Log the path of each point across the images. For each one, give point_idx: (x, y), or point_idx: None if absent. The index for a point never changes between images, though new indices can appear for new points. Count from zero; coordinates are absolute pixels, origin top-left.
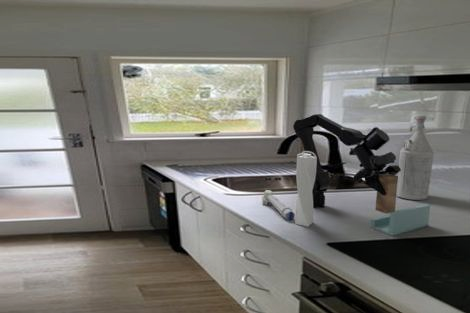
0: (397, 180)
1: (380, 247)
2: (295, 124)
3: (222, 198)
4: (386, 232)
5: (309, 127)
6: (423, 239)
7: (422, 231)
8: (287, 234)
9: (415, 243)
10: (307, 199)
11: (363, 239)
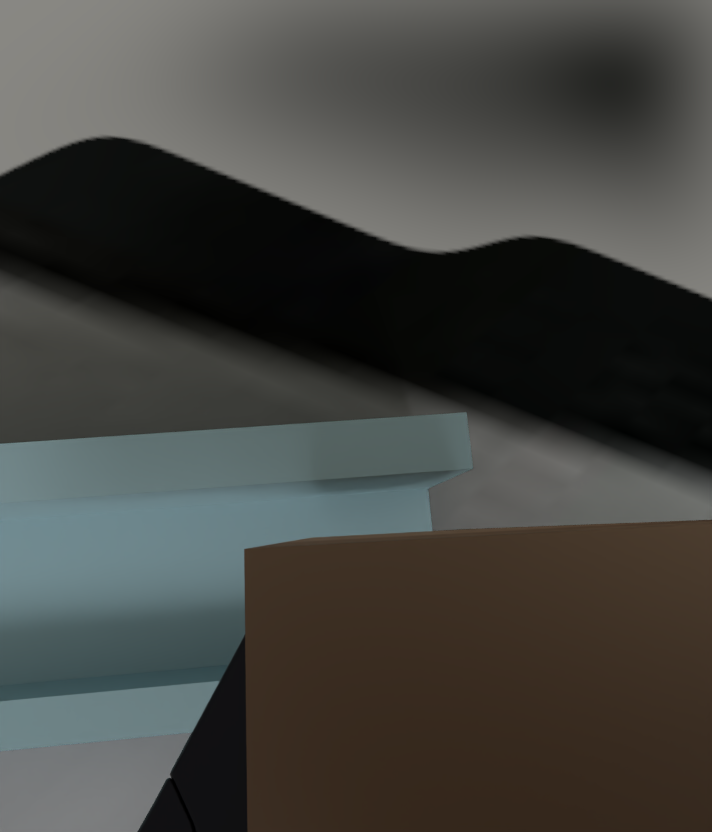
0: (286, 543)
1: (662, 341)
2: None
3: None
4: (429, 507)
5: None
6: (255, 311)
7: (106, 418)
8: None
9: (375, 288)
10: None
11: (688, 492)
